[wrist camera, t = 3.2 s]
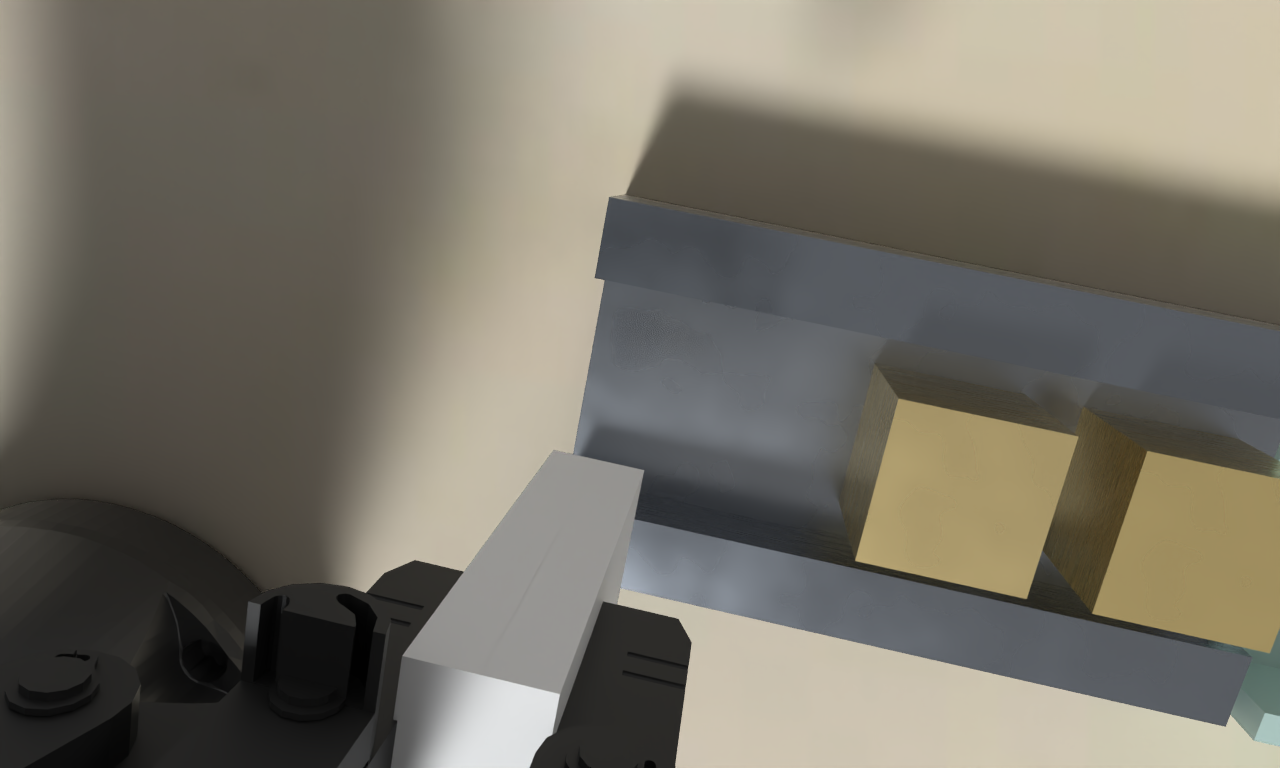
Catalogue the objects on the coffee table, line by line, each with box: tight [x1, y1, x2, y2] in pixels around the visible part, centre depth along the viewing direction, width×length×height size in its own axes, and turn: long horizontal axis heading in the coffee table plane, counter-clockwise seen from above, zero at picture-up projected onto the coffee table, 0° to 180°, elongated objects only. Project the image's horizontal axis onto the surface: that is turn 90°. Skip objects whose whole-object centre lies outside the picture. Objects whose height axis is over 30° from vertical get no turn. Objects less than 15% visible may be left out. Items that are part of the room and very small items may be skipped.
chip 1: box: [839, 363, 1079, 599], centre depth 23 cm, size 4×4×4 cm
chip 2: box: [1042, 407, 1280, 653], centre depth 23 cm, size 4×4×4 cm
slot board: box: [573, 195, 1280, 727], centre depth 24 cm, size 18×10×3 cm, turn 79°
